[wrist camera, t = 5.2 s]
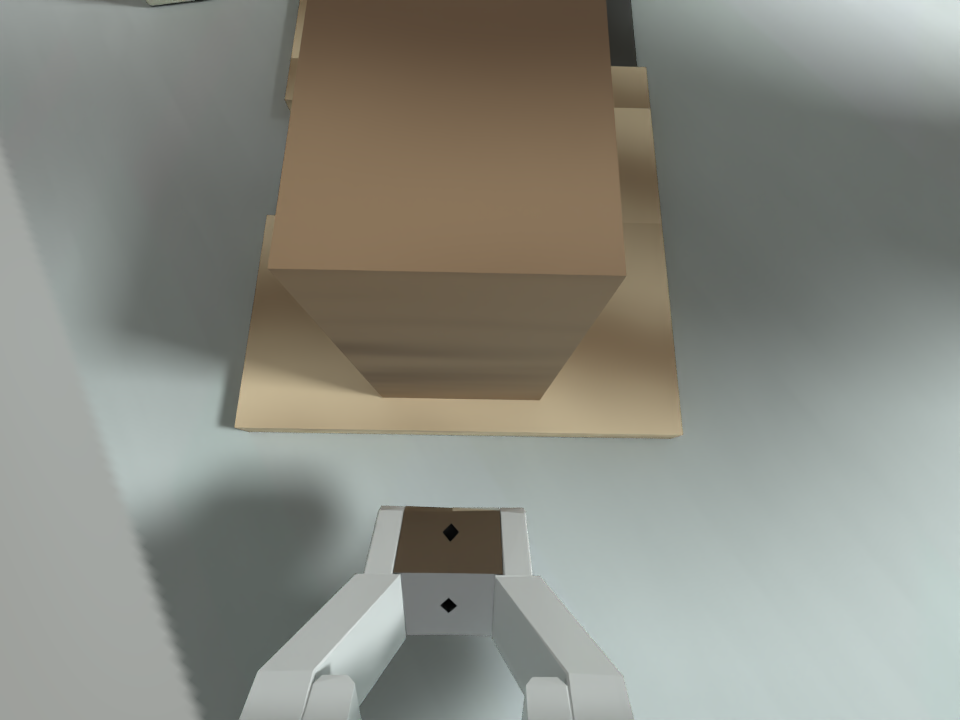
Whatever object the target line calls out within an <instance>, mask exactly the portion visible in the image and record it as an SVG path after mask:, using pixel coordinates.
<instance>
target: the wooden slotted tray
mask: <svg viewBox="0 0 960 720" xmlns="http://www.w3.org/2000/svg"><path fill="white" fill-rule="evenodd" d="M306 4H307V0H300V2H299V9H298V15H297V22H296V28H295V35H294V41H293V48H292V54H291V61H290V67H289V74H288V80H287V87H286V94H285V101H286V104H287V106H288V108H289V110H290V112H291V106H292V99H293V92H294V86H295V79H296V72H297V65H298V59H299V52H300V45H301V38H302V31H303V25H304V18H305V11H306ZM606 7H607V21H608V34H609V47H610V61H611V74H612V87H613V101H614V114H615V127H616V141H617V154H618V167H619V181H620V194H621V207H622V221H623V234H624V247H625V261H626V274H627V276H626V277H625V279H624V280H623V282H622V283H621V285H620V286H619V288H618V289H617V290H616V292H615V293H614V295H613V296H612V298H611V299H610V300H609V302H608V303H607V305H606V306H605V308H604V309H603V310H602V312H601V313H600V315H599V316H598V318H597V319H596V320H595V322H594V323H593V325H592V326H591V328H590V329H589V330H588V332H587V333H586V335H585V336H584V338H583V339H582V340H581V342H580V343H579V345H578V346H577V348H576V349H575V351H574V352H573V353H572V355H571V356H570V358H569V359H568V361H567V362H566V363H565V365H564V366H563V368H562V369H561V371H560V372H559V373H558V375H557V376H556V378H555V379H554V381H553V382H552V383H551V385H550V386H549V388H548V389H547V391H546V392H545V393H544V395H543V396H542V398H541V399H540V400H491V399H434V398H382V397H381V395H380V394H379V393H378V392H377V391H376V390H375V389H374V388H373V386H372V385H371V384H370V383H369V382H368V381H367V380H366V379H365V378H364V376H363V375H362V374H361V373H360V372H359V371H358V370H357V369H356V367H355V366H354V365H353V364H352V363H351V362H350V361H349V360H348V358H347V357H346V356H345V355H344V354H343V353H342V352H341V351H340V349H339V348H338V347H337V346H336V345H335V344H334V343H333V342H332V340H331V339H330V338H329V337H328V336H327V335H326V334H325V333H324V331H323V330H322V329H321V328H320V327H319V326H318V325H317V324H316V322H315V321H314V320H313V319H312V318H311V317H310V316H309V315H308V313H307V312H306V311H305V310H304V309H303V308H302V307H301V306H300V304H299V303H298V302H297V301H296V300H295V299H294V298H293V297H292V295H291V294H290V293H289V292H288V291H287V290H286V289H285V288H284V286H283V285H282V284H281V283H280V282H279V281H278V280H277V279H276V277H275V276H274V275H273V274H272V273H271V272H270V271H269V270H268V262H269V255H270V248H271V241H272V235H273V228H274V221H275V215H267V218H266V224H265V231H264V237H263V244H262V250H261V257H260V263H259V270H258V276H257V283H256V289H255V296H254V302H253V309H252V316H251V322H250V329H249V335H248V342H247V348H246V355H245V361H244V368H243V374H242V381H241V387H240V394H239V400H238V407H237V413H236V420H235V426H234V428H238V429H241V430H244V431H248V432H294V433H355V434H416V435H477V436H537V437H598V438H659V439H671V438H674V437H678V436H681V435H683V430H682V420H681V410H680V400H679V390H678V380H677V370H676V360H675V350H674V340H673V330H672V320H671V310H670V300H669V290H668V280H667V270H666V260H665V250H664V240H663V230H662V220H661V210H660V200H659V190H658V180H657V170H656V160H655V150H654V140H653V130H652V120H651V110H650V100H649V90H648V80H647V70H646V67H637V62H636V52H635V41H634V30H633V20H632V9H631V0H606Z"/></svg>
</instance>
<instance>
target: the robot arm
mask: <svg viewBox="0 0 960 720" xmlns="http://www.w3.org/2000/svg"><path fill="white" fill-rule="evenodd" d="M406 635H473V636H492V640H493V641H494V643H495V645H496V647H497V648H498V650H499V652H500V654H501V655H502V657H503V659H504V661H505V663H506V664H507V666H508V668H509V670H510V671H511V673H512V675H513V677H514V678H515V680H516V682H517V684H518V685H519V687H520V689H521V691H522V693H523V694H524V704H523V712H522V720H634V717H633V713H632V709H631V705H630V701H629V697H628V693H627V689H626V684H625V680H624V676H623V675H622V674H621V673H620V671H619V670H618V669H617V668H616V667H615V665H614V664H613V663H612V662H611V661H610V659H609V658H608V657H607V656H606V655H605V653H604V652H603V651H602V650H601V649H600V647H599V646H598V645H597V644H596V643H595V641H594V640H593V639H592V638H591V637H590V635H589V634H588V633H587V632H586V631H585V629H584V628H583V627H582V626H581V625H580V623H579V622H578V621H577V620H576V619H575V617H574V616H573V615H572V614H571V613H570V611H569V610H568V609H567V608H566V607H565V605H564V604H563V603H562V602H561V601H560V599H559V598H558V597H557V596H556V595H555V593H554V592H553V591H552V590H551V589H550V587H549V586H548V585H547V584H546V583H545V581H544V580H543V579H542V578H541V577H540V576H533V574H532V565H531V556H530V547H529V539H528V530H527V521H526V512H525V510H524V508H500V509H499V508H454V507H453V508H440V507H415V506H406V507H403V506H381V508H380V509H379V511H378V514H377V518H376V523H375V527H374V531H373V535H372V539H371V543H370V547H369V551H368V556H367V560H366V564H365V568H364V572H363V574H355V575H354V576H353V577H352V578H351V579H350V580H349V581H348V582H347V583H346V584H345V585H344V586H343V587H342V588H341V589H340V590H339V591H338V592H337V593H336V594H335V595H334V596H333V597H332V598H331V599H330V600H329V601H328V602H327V603H326V604H325V605H324V606H323V607H322V608H321V609H320V610H319V611H318V612H317V613H316V614H315V615H314V616H313V617H312V618H311V619H310V620H309V621H308V622H307V623H306V624H305V625H304V626H303V627H302V628H301V629H300V630H299V631H298V632H297V633H296V634H295V635H294V636H293V637H292V638H291V639H290V640H289V641H287V642H286V643H285V644H284V645H283V646H282V647H281V648H280V649H279V650H278V651H277V652H276V653H275V654H274V655H273V656H272V657H271V658H270V659H269V660H268V661H267V662H266V663H265V664H264V665H263V666H262V667H261V668H260V669H259V670H258V672H257V674H256V677H255V679H254V682H253V685H252V687H251V690H250V692H249V695H248V697H247V700H246V703H245V705H244V708H243V710H242V713H241V716H240V718H239V720H362V719H361V714H360V709H359V706H360V705H361V703H362V702H363V701H364V699H365V698H366V696H367V695H368V693H369V692H370V690H371V689H372V687H373V686H374V684H375V683H376V682H377V680H378V679H379V677H380V676H381V674H382V673H383V671H384V670H385V668H386V667H387V665H388V664H389V663H390V661H391V660H392V658H393V657H394V655H395V654H396V652H397V651H398V649H399V648H400V646H401V645H402V644H403V642H404V641H405V639H406Z"/></svg>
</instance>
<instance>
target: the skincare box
mask: <svg viewBox="0 0 960 720" xmlns="http://www.w3.org/2000/svg"><path fill="white" fill-rule="evenodd" d="M185 1H193V0H146V2H147V3H148V4H149V5H151V6H154V5H162V4H170V3H178V2H185Z"/></svg>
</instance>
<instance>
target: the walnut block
mask: <svg viewBox="0 0 960 720" xmlns="http://www.w3.org/2000/svg"><path fill="white" fill-rule="evenodd" d="M268 270H269V271H270V272H271V273H272V274H273V275H274V276H275V277H276V279H277V280H278V281H279V282H280V283H281V284H282V285H283V286H284V288H285V289H286V290H287V291H288V292H289V293H290V294H291V295H292V297H293V298H294V299H295V300H296V301H297V302H298V303H299V304H300V306H301V307H302V308H303V309H304V310H305V311H306V312H307V313H308V315H309V316H310V317H311V318H312V319H313V320H314V321H315V322H316V324H317V325H318V326H319V327H320V328H321V329H322V330H323V331H324V333H325V334H326V335H327V336H328V337H329V338H330V339H331V340H332V342H333V343H334V344H335V345H336V346H337V347H338V348H339V349H340V351H341V352H342V353H343V354H344V355H345V356H346V357H347V358H348V360H349V361H350V362H351V363H352V364H353V365H354V366H355V367H356V369H357V370H358V371H359V372H360V373H361V374H362V375H363V376H364V378H365V379H366V380H367V381H368V382H369V383H370V384H371V385H372V386H373V388H374V389H375V390H376V391H377V392H378V393H379V394H380V395H381V397H382V398H434V399H491V400H540V399H541V398H542V396H543V395H544V393H545V392H546V391H547V389H548V388H549V386H550V385H551V383H552V382H553V381H554V379H555V378H556V376H557V375H558V373H559V372H560V371H561V369H562V368H563V366H564V365H565V363H566V362H567V361H568V359H569V358H570V356H571V355H572V353H573V352H574V351H575V349H576V348H577V346H578V345H579V343H580V342H581V340H582V339H583V338H584V336H585V335H586V333H587V332H588V330H589V329H590V328H591V326H592V325H593V323H594V322H595V320H596V319H597V318H598V316H599V315H600V313H601V312H602V310H603V309H604V308H605V306H606V305H607V303H608V302H609V300H610V299H611V298H612V296H613V295H614V293H615V292H616V290H617V289H618V288H619V286H620V285H621V283H622V282H623V280H624V279H625V277H626V276H627V274H626V261H625V247H624V234H623V221H622V207H621V194H620V181H619V167H618V154H617V141H616V127H615V114H614V101H613V87H612V74H611V61H610V47H609V34H608V21H607V7H606V0H307V4H306V11H305V18H304V25H303V31H302V38H301V45H300V52H299V59H298V65H297V72H296V79H295V86H294V92H293V99H292V106H291V113H290V119H289V126H288V133H287V140H286V147H285V153H284V160H283V167H282V174H281V180H280V187H279V194H278V201H277V208H276V214H275V221H274V228H273V235H272V241H271V248H270V255H269V262H268Z"/></svg>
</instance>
